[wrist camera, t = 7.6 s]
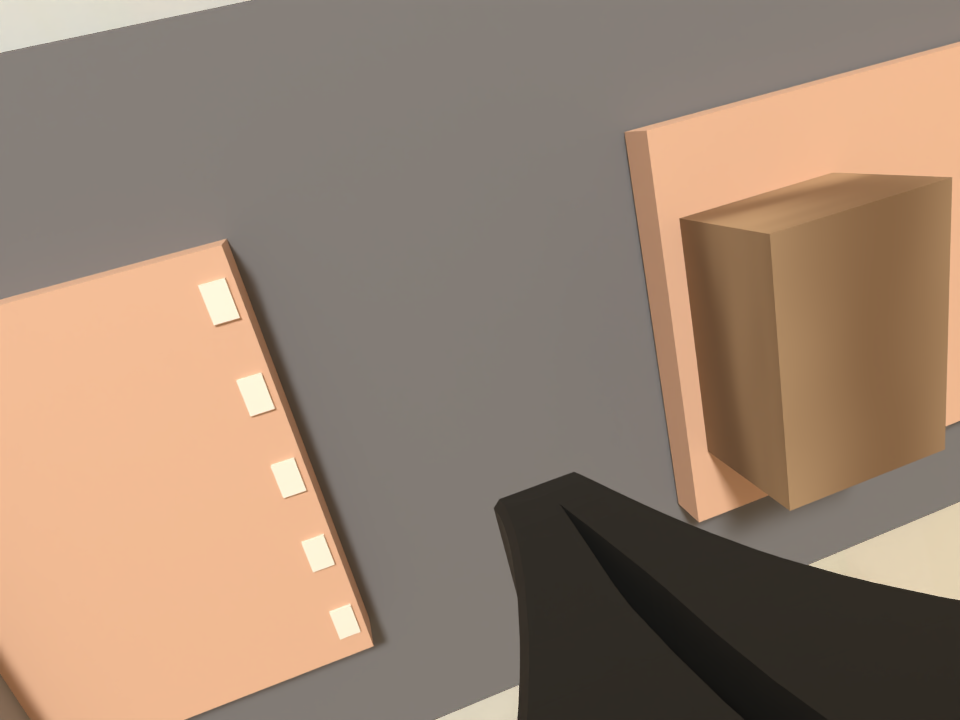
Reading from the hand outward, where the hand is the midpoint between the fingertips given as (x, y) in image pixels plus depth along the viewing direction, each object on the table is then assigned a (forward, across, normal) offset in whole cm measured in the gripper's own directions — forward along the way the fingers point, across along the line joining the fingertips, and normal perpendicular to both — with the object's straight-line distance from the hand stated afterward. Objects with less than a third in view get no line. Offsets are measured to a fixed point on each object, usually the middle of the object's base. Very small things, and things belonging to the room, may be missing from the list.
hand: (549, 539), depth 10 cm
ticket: (+7, +9, 0) cm, 11 cm away
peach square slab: (+7, -10, 0) cm, 12 cm away
